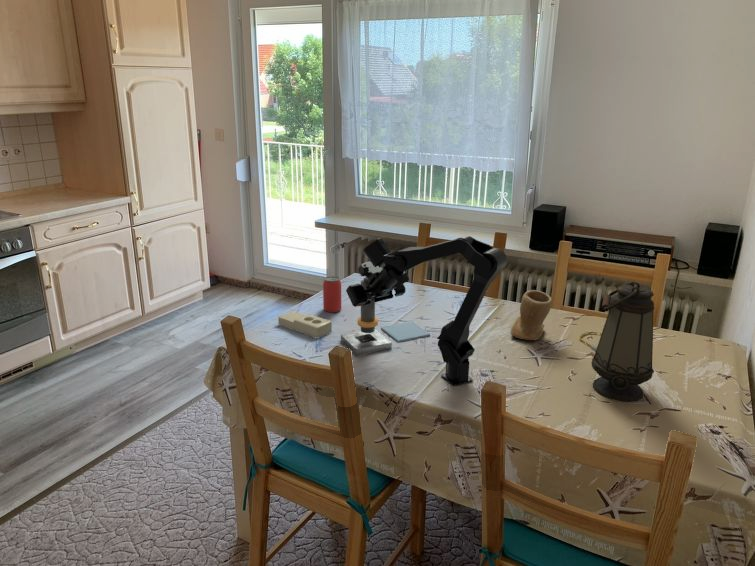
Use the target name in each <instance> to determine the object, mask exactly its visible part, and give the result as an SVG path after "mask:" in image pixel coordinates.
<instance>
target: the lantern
mask: <svg viewBox="0 0 755 566" xmlns="http://www.w3.org/2000/svg"><path fill="white" fill-rule="evenodd" d="M612 296H613V297H612ZM653 296H654V292H653V290H651V289H650V288H647V287H644V286H641V285H640V283H639V282H638V281H637V280H633V281H631V282H629V283H627V284H623V285H619V286H618V287H616V289H615V290H614V291H611V292H610V293H609V294H605V295H603V298H602V304H601V307H600V308H601V310H602V311H603V312H608V313H607V317H606V320H605V322H604V323H605V324H604V325H603V328H602V332H601V333H602V334H600V338H599V340H598V343H597V345H596V346H597V349H596V351H594V352H595V353H594V355H593V357H592V359H591V360H592V361H591V367H592V369H593V371H594V372H596V373H597V375H598V376H600V377H598V378H596V379H594V380H593V383H592V388H593V390H594V391H595V392H596V393H597V394H599V395H600V396H602V397H604V398H607V399H609V400H612V401H615V402H620V403H622V402H623V403H634V402H635V403H637V402H639V401H641V400H642V399H643V398H644V395H645V393H644V390H643V389H642V388H641V386H639V385H641V384H644V383H647V382H648V381H650V380H651V379H652V377H653V374H654V372H655V370H654V368H653V354H654V353H653V348H654V346H653V345H654V313H655V303H654V301H653V299H652V298H653Z"/></svg>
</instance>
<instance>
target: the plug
mask: <svg viewBox="0 0 755 566" xmlns="http://www.w3.org/2000/svg"><path fill="white" fill-rule="evenodd" d="M367 280H368V279H367V278H366V277H363V279H362V280H361V281H360V284H361V285H362V286H363V288H364V289H365V290H367V289H366V287H367V286H370V285H368V284H367V282H366V281H367ZM370 302H371V303H370V304H367V305H363V306H360V316H359V317H358V318H357V325H358V326H359V327H360V331H361V332H364V333H372V332H374V331H375V329H376V328H375V327H377V326H378V324H379V318H378V317H377V316H376V302H375V296H374V297H371V299H370Z"/></svg>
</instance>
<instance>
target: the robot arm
mask: <svg viewBox="0 0 755 566" xmlns="http://www.w3.org/2000/svg"><path fill="white" fill-rule="evenodd" d="M362 252H363V254H364V255H365V257H366V258H367V259H368V261H365V262H364V263H361V264H360V265H359V266H358V268H357V272H358V274H359V275H360V276H361V277H364V278H367V279H368V280H367V281H366V282H367V284H368V285H370V286H367V287H366V289H367V290H365V289H364V288H363V286H362V285H361V283H355V284H351V285H348V286H347V288H346V289H345V291H346V293H347V295H348V298H349V300H350V303H351V305H352V306H353V307H355V308H357V307H361V306H363V305H367V304H370V303H371V302H370V299H371V297H374V296H375V303H378V302H383V301H386V300H390V299H393V298H394V296H395V297H396V298H397V297H400V296H403V295H404V294H405V293H406V286H405V283H407V282H409V281H410V278H409V275H408V272H406V271H409V270H410V269H413V268H415V267H417V266H420V265H421V264H423V263H426V262H429V261H432V260H438V259H442V258H445V257H449V256H453V255H457V254H459V255H461V256H463V258H464V259H465V260H466V261H467V262H468V263H469V264H470V265H471V266H473V272H472V273H473V274H472V275H473V277H472V282H471V284H470V286H469V288H468V290H467V293H466V294H465V297H464V299H463V301H462V304H461V305H460V307H459V309H458V311H457V314H456V316H455V318H454V320H453V319H452V320H450V321H449V322H448V323H446V324H445V325H443V326H442V328H441V331H440V334H439V336H437V338H436V339H438V340H437V347H438V349H439V351H440V353H441V357H442V361H443V362H444V363H445V372H444V373H441V375H440V376H441V377H442V378H443V379H444V380H445V381H447V382H449V384H451V385H452V386H458V385H459V386H460V385H464V384H466V383H470V382H473V380H474V379H473V378H472V377H471V376H469V373H470V361H469V358H470V357H472V356H473V354H474V353H475V350H476V349H475V347H474V346H473V345H472V344H471V342H470V341H469V340H468V339H469V336H470V326H471V324H472V322H473V319H474V317H475V315H476V313H478V310H479V307H480V306H481V303H482V302H483V300H484V297H485V295H486V294H487V291H488V290H489V287H490V285H492V283H493V281H495V279H496V278H497V277H498V276H499V275H500V274H501V272H502V271H503V269H505V268H506V265H507V263H508V257H507V255H506V253H505V251H504V250H502V249H501V248H498V247H493V246H492V245H490V244H488V243H485V242H482V241H481V240H478V239H476V238H474V237H473V236H470V235H468V234H467V235H466V234H465V235H463V236H460V237H458V238H454V239H451V240H447V241H443V242H439V243H437V244H436V243H435V244H432V245H428V246H409V247H405V248H404V249H401V250H399V249H398V250H394V251H391V249H390V248H389V247H388V246H387V244H386V243H385V240H384V239H383V238H382V237H379V238H376V239H375V240H374V241H372V242H371V243H370V244H368V245H366V246H365V247H364V248H363V250H362ZM393 291H394V292H395V293H394V294H393Z"/></svg>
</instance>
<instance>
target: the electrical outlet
mask: <svg viewBox="0 0 755 566" xmlns="http://www.w3.org/2000/svg"><path fill="white" fill-rule="evenodd" d="M277 320H278V325H279V326H281V327H285V328H288V329H291V330H293V331H296V332H298V331H299V333H301V334H303V335H307V336H309V335H310V337H312V338H315V337H316V339H319V338H320V337H323V336H325V335H327V333H328V334H330V333H331V332H332V329H333V328H332V327H333V325H332V324H333V323H332V321H331V320H329V319H325V318H322V317H320V316H316V315H313V314H310V313H307V314H304V313H301V312H298V311H295V310H292V311H289V312H287V313H285V314H283V315H280V316H278V318H277ZM329 332H330V333H329ZM318 337H319V338H318Z"/></svg>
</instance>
